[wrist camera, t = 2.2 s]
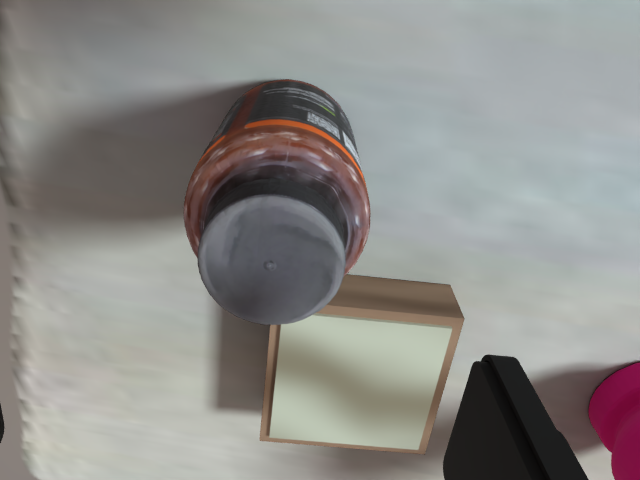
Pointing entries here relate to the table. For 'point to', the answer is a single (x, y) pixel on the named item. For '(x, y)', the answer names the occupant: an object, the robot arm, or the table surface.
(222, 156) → the supplement bottle
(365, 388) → the base
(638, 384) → the pepper mill
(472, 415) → the robot arm
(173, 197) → the table surface
